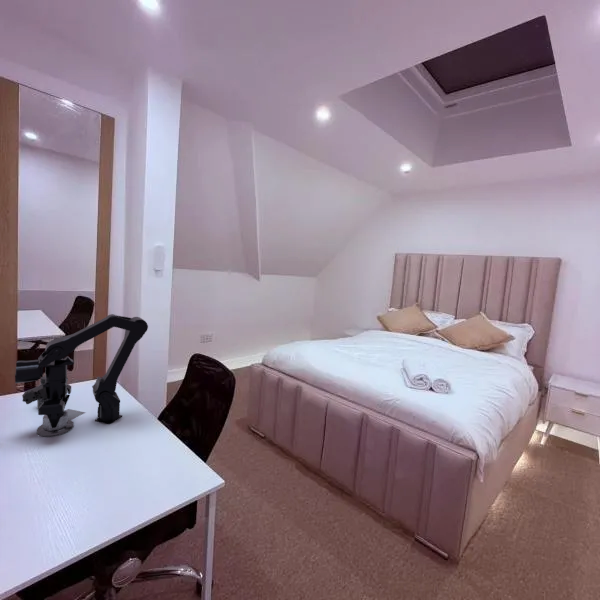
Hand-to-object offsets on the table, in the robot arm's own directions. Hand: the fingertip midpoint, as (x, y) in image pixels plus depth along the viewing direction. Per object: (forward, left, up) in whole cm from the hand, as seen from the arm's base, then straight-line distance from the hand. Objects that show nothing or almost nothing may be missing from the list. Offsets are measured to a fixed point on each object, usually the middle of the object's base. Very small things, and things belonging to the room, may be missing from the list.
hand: (56, 422), depth 110 cm
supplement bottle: (+17, -12, -3) cm, 21 cm away
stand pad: (+5, -9, -2) cm, 11 cm away
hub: (0, 0, -2) cm, 3 cm away
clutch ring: (0, 0, -1) cm, 1 cm away
